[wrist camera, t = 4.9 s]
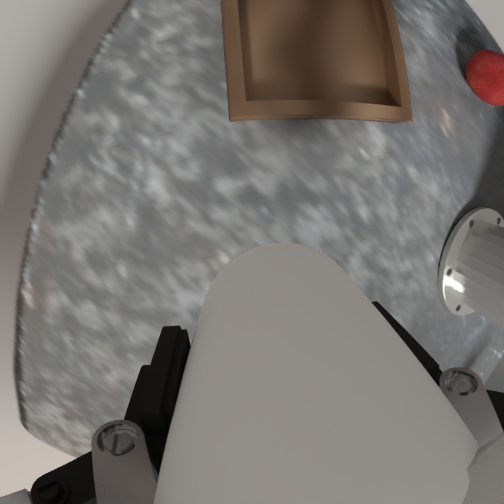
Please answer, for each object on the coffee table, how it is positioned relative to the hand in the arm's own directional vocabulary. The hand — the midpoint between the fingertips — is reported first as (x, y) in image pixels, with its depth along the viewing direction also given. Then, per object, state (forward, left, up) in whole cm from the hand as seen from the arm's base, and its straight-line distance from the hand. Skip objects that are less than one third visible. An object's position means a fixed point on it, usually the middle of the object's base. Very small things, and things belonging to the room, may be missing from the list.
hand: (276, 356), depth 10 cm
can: (-1, 0, -3) cm, 4 cm away
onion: (-25, -15, -14) cm, 33 cm away
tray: (-7, -16, -14) cm, 23 cm away
